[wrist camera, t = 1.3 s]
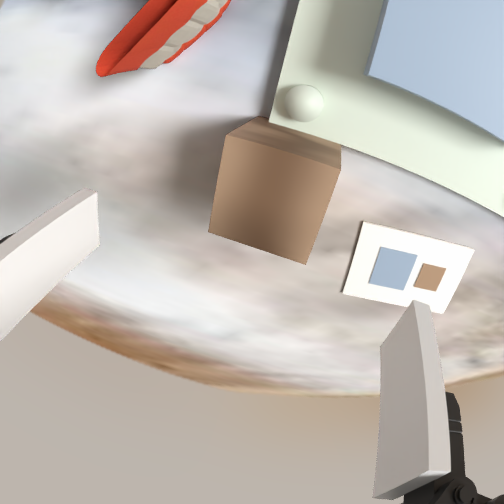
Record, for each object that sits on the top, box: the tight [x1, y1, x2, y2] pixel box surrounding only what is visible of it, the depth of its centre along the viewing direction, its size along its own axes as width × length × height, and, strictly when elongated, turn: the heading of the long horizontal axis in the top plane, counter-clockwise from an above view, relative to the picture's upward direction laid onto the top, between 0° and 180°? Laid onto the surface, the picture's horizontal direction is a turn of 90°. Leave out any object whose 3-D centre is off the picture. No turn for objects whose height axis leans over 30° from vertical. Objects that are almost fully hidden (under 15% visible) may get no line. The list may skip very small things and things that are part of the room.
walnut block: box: [208, 116, 341, 265], centre depth 20 cm, size 6×6×7 cm
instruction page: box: [343, 221, 474, 314], centre depth 24 cm, size 10×7×1 cm
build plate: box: [269, 0, 504, 217], centre depth 13 cm, size 22×22×2 cm
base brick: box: [363, 0, 504, 142], centre depth 11 cm, size 12×12×4 cm
